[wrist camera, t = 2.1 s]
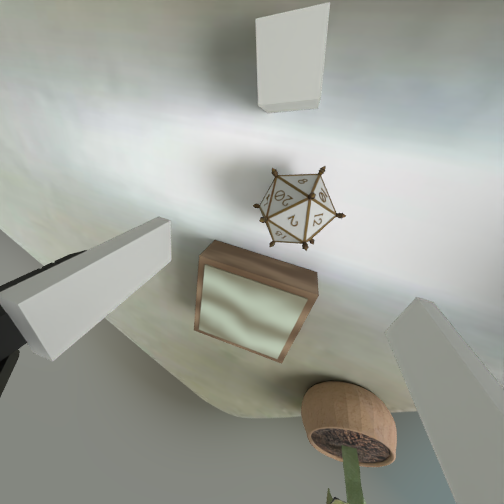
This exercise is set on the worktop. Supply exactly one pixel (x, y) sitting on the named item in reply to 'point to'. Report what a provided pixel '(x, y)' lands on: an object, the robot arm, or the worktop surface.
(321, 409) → the potted plant
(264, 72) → the grey block
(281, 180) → the game die
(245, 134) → the worktop surface
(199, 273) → the walnut framed mirror
